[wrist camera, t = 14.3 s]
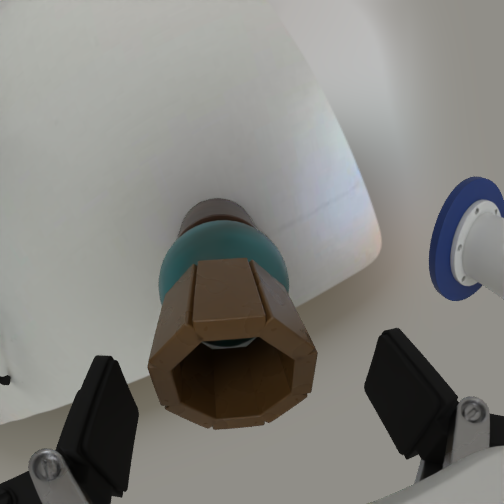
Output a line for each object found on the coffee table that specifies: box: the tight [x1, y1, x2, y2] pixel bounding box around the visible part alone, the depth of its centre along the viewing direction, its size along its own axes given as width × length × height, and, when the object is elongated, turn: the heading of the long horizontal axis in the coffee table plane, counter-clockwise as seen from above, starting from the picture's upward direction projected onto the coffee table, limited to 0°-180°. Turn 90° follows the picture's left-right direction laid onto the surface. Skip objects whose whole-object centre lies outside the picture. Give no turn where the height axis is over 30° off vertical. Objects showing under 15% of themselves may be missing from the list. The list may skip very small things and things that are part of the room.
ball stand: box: [159, 199, 289, 349], centre depth 19 cm, size 7×7×13 cm
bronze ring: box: [148, 258, 317, 430], centre depth 11 cm, size 6×6×4 cm
